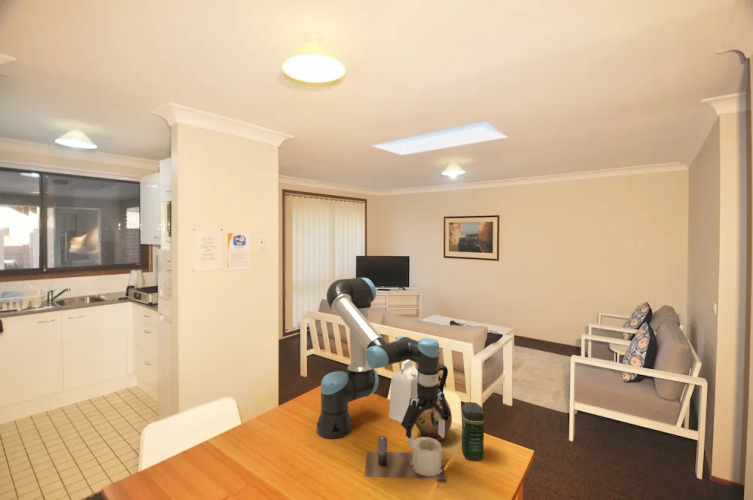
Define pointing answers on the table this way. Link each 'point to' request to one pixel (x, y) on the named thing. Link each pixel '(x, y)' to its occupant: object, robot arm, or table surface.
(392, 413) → the milk
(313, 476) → the table surface
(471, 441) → the coffee jar
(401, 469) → the board
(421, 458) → the ring
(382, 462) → the stand rod
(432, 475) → the hub
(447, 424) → the ceramic jug
